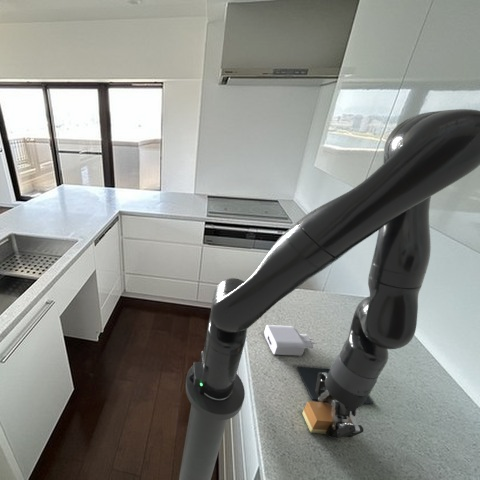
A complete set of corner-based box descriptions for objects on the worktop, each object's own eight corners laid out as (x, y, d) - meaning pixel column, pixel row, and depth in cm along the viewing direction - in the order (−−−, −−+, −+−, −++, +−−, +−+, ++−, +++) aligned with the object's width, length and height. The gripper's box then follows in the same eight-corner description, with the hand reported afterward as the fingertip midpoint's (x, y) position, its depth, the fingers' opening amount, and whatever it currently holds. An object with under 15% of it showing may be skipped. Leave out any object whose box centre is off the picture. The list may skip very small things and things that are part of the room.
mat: (312, 400, 69) (313, 398, 68) (296, 367, 78) (296, 366, 77) (372, 404, 68) (373, 403, 68) (349, 371, 77) (349, 370, 77)
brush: (310, 432, 61) (317, 420, 59) (301, 413, 65) (307, 401, 63) (348, 435, 61) (356, 423, 59) (337, 416, 65) (344, 403, 63)
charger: (320, 358, 81) (273, 355, 81) (305, 335, 90) (263, 333, 89) (325, 347, 79) (277, 345, 79) (309, 325, 87) (266, 323, 87)
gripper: (316, 349, 62) (296, 394, 70) (354, 410, 49) (325, 456, 57) (347, 352, 62) (324, 396, 69) (393, 413, 49) (359, 459, 57)
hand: (324, 423), depth 63 cm, fingers closed on brush, 4 cm apart
